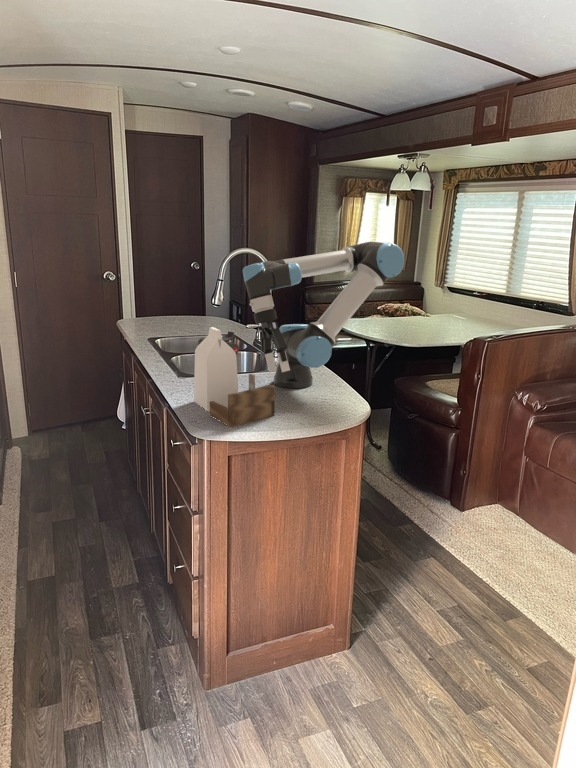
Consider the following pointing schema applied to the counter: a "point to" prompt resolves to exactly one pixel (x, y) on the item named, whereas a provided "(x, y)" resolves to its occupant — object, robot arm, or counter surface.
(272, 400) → the bracket
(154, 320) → the counter surface
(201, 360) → the milk
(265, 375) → the counter surface
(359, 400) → the counter surface
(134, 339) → the counter surface
